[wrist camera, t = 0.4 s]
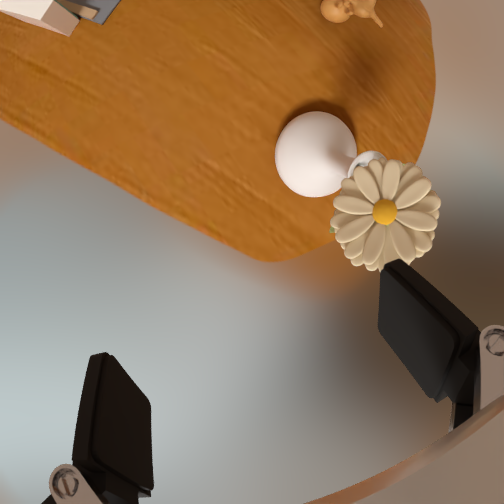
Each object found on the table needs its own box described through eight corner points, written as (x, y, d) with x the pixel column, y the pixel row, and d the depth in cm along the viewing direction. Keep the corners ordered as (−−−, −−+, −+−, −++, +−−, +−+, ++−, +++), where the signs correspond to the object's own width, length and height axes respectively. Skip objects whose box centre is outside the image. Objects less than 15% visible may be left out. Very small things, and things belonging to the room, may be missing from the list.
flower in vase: (327, 96, 34) (489, 110, 12) (361, 167, 40) (503, 240, 18) (243, 145, 35) (343, 211, 13) (287, 215, 41) (393, 338, 19)
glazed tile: (35, 5, 19) (4, -13, 11) (81, 19, 23) (55, -2, 15) (24, 21, 20) (-9, 7, 12) (69, 36, 23) (40, 20, 15)
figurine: (358, 20, 29) (413, 2, 19) (343, 49, 31) (398, 37, 21) (308, -12, 26) (352, -45, 16) (290, 18, 28) (332, -12, 18)
